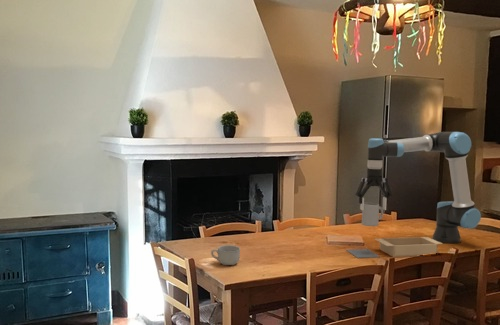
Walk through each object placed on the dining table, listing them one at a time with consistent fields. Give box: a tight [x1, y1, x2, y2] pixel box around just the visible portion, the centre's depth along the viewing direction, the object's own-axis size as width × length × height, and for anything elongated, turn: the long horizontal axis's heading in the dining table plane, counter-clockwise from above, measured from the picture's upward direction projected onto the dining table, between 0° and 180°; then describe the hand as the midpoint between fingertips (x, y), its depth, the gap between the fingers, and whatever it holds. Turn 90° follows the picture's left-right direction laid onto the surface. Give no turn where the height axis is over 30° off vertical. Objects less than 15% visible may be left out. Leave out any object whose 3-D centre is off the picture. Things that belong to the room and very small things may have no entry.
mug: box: [361, 202, 384, 227], centre depth 247 cm, size 12×8×11 cm
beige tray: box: [374, 236, 444, 258], centre depth 252 cm, size 31×17×6 cm, turn 100°
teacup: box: [210, 244, 241, 266], centre depth 228 cm, size 14×11×8 cm
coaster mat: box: [346, 248, 380, 259], centre depth 248 cm, size 12×15×1 cm
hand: (373, 209), depth 247 cm, fingers closed on mug, 12 cm apart
